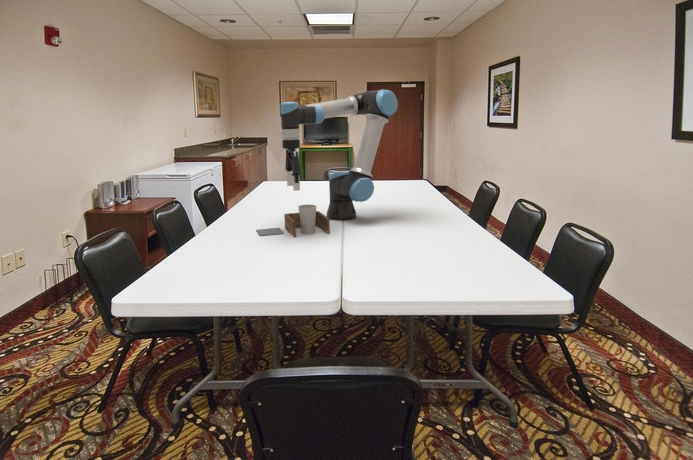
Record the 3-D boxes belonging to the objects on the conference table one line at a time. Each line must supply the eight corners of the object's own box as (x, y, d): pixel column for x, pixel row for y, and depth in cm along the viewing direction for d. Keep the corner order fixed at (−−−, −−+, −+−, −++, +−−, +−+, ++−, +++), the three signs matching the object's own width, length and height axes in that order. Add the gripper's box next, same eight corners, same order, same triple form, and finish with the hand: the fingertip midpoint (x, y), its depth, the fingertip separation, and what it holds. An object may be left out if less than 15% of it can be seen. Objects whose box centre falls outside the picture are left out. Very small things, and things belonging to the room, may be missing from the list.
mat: (279, 228, 221) (279, 227, 221) (284, 233, 211) (284, 233, 211) (255, 230, 218) (255, 229, 218) (259, 236, 208) (259, 235, 208)
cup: (314, 235, 209) (313, 208, 206) (297, 234, 210) (296, 207, 207) (319, 230, 216) (318, 204, 213) (302, 230, 218) (301, 204, 215)
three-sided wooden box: (318, 225, 226) (318, 211, 224) (329, 233, 210) (329, 218, 209) (284, 228, 221) (284, 213, 219) (293, 237, 205) (292, 221, 203)
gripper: (277, 137, 214) (280, 184, 219) (287, 141, 191) (290, 193, 196) (293, 137, 216) (295, 183, 222) (306, 140, 193) (308, 191, 199)
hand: (293, 188), depth 209 cm, fingers open, 13 cm apart
